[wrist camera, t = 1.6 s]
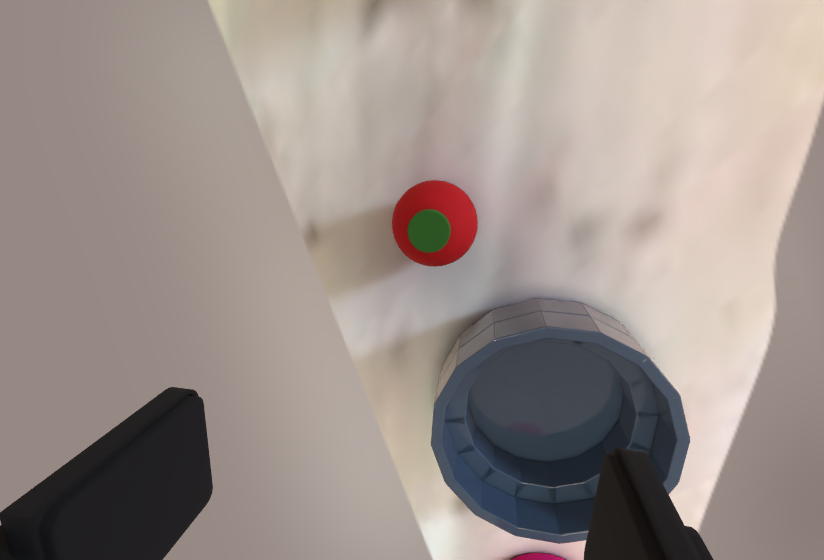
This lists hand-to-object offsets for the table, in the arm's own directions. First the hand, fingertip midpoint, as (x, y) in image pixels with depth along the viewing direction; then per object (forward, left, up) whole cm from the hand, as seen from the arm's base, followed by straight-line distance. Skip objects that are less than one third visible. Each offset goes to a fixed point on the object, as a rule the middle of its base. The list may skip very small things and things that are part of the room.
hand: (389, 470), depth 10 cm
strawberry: (-4, -1, -17) cm, 17 cm away
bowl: (+6, +6, -16) cm, 19 cm away
